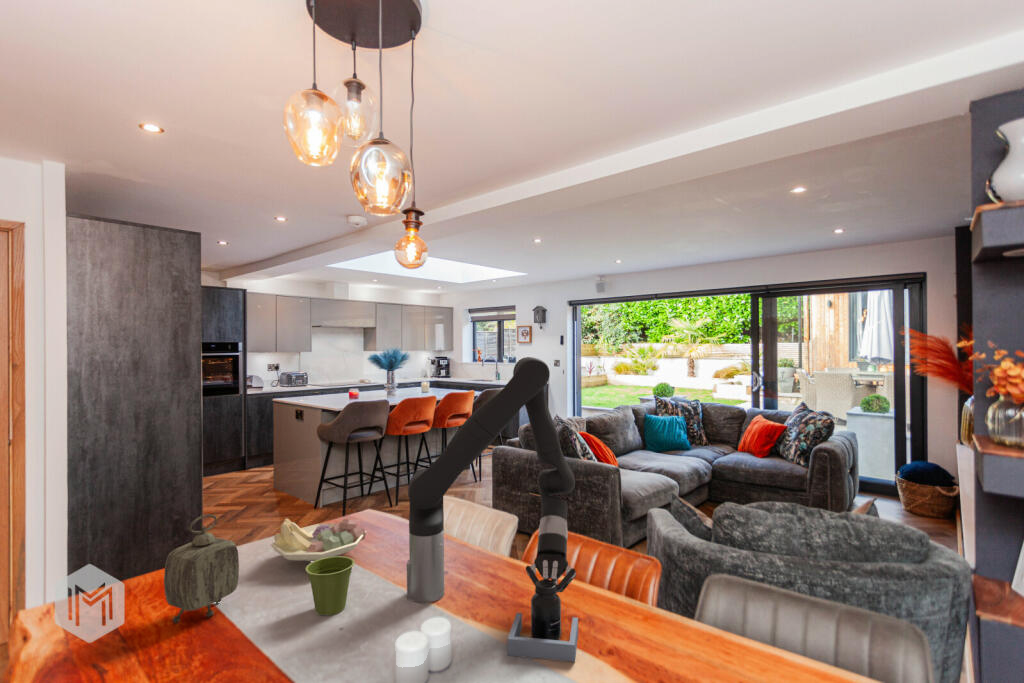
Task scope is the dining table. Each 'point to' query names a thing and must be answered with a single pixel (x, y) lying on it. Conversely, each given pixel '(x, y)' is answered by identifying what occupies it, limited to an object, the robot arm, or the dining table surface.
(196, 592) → the tabletop clock
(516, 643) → the bay
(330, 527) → the dish with food
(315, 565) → the plant pot
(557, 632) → the supplement bottle
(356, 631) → the dining table surface
